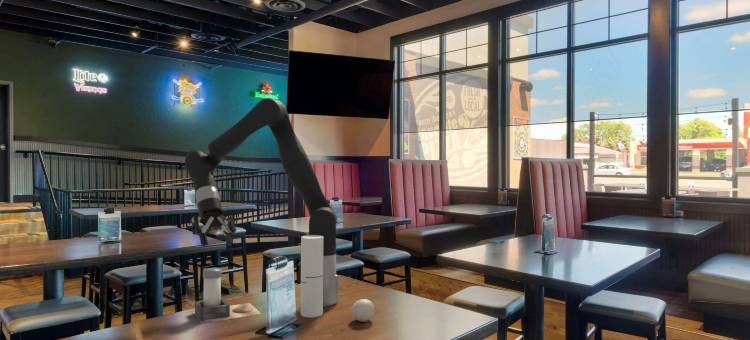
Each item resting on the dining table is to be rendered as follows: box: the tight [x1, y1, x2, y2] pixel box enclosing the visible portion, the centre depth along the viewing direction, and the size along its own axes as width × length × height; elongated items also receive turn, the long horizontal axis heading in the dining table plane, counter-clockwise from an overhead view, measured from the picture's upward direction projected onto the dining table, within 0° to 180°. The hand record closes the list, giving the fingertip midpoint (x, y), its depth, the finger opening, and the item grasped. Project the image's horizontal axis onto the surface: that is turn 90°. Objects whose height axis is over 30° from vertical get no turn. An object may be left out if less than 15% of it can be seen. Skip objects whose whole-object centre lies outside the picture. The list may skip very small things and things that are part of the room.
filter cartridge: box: [202, 267, 223, 308], centre depth 143 cm, size 5×5×14 cm
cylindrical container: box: [300, 234, 324, 318], centre depth 149 cm, size 7×7×25 cm
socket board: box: [192, 297, 262, 325], centre depth 145 cm, size 18×13×5 cm
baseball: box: [350, 298, 375, 323], centre depth 143 cm, size 7×7×7 cm
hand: (218, 245), depth 149 cm, fingers open, 8 cm apart
